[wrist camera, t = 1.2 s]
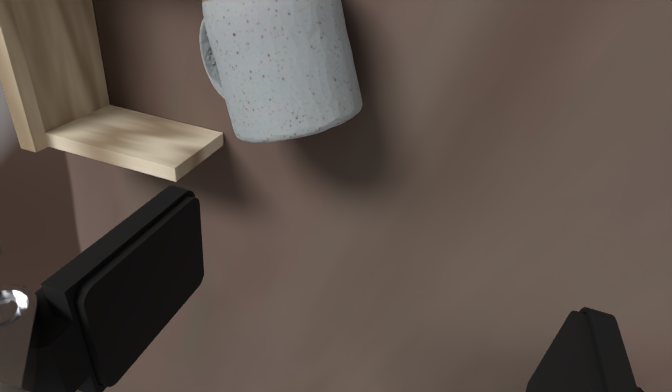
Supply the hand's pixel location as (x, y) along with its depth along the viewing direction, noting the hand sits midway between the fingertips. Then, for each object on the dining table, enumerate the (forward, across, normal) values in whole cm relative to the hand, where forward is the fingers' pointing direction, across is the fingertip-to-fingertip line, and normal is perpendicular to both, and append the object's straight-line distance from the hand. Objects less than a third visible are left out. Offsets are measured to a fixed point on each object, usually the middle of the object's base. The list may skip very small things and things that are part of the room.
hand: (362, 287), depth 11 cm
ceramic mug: (+18, +10, 0) cm, 21 cm away
